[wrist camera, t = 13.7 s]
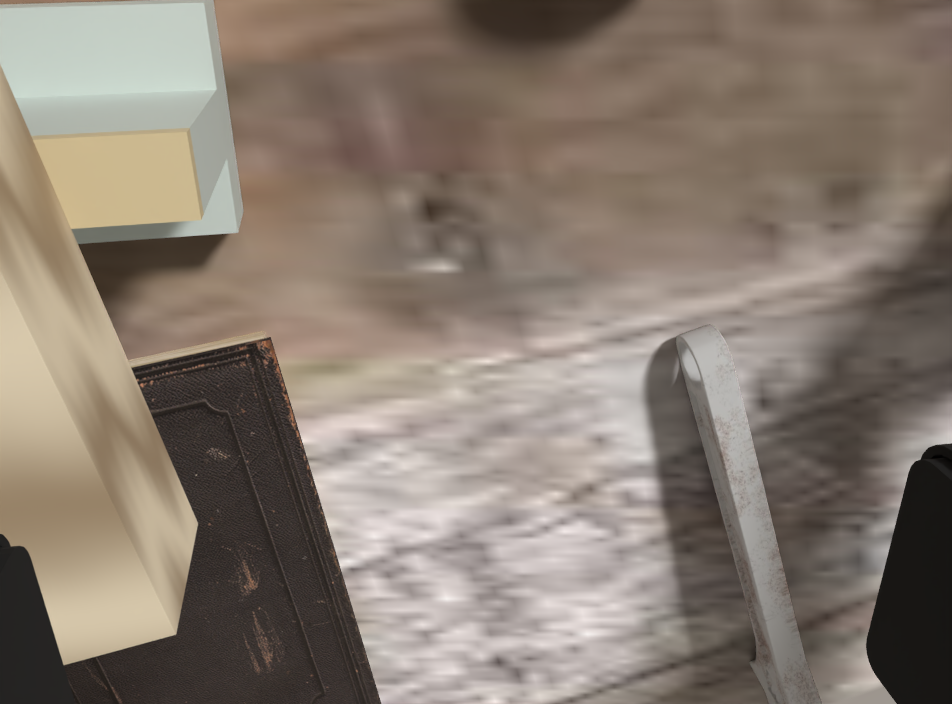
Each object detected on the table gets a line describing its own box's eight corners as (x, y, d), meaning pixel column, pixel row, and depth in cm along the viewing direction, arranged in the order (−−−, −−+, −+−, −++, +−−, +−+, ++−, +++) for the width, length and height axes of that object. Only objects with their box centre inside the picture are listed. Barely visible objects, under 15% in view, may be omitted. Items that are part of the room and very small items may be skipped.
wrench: (682, 301, 43) (792, 722, 53) (649, 313, 43) (766, 732, 53) (753, 351, 35) (865, 830, 46) (713, 366, 35) (834, 842, 46)
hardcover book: (272, 319, 37) (270, 340, 35) (380, 683, 47) (384, 716, 45) (-103, 400, 35) (-128, 428, 33) (94, 758, 46) (84, 795, 44)
